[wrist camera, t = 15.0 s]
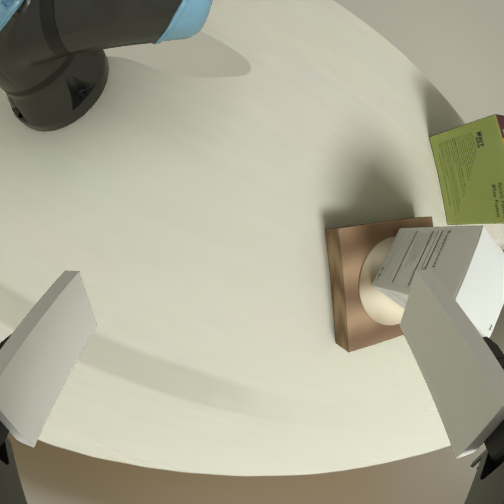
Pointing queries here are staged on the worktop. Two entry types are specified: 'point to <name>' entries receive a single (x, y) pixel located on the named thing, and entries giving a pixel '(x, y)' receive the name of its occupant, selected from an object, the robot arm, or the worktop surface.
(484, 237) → the supplement box
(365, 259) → the pedestal
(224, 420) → the worktop surface
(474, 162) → the protein box
